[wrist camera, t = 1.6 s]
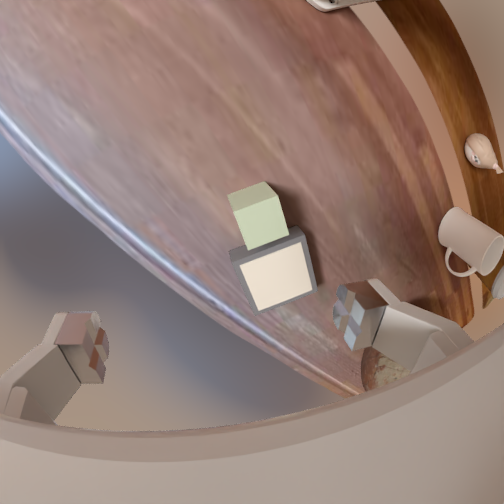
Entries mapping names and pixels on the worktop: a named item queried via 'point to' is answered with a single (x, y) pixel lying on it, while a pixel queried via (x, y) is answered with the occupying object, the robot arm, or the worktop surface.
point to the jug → (379, 369)
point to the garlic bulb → (481, 152)
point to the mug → (470, 242)
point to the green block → (258, 214)
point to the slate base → (275, 271)
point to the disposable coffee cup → (494, 279)
